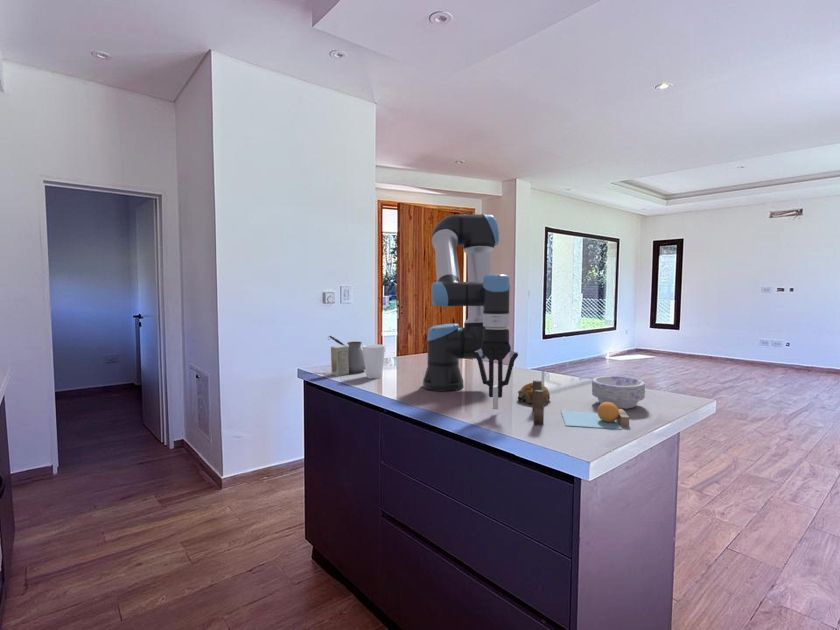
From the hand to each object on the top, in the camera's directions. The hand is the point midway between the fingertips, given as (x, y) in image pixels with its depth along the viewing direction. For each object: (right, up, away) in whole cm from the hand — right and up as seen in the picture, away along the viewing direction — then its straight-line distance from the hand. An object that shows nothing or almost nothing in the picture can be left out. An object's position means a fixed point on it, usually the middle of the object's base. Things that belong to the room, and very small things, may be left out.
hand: (495, 408), depth 131 cm
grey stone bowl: (+40, -1, +10) cm, 41 cm away
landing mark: (+25, -2, -5) cm, 26 cm away
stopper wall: (+34, -2, -7) cm, 35 cm away
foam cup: (-41, +1, +54) cm, 68 cm away
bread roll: (+15, -1, +15) cm, 21 cm away
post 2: (+10, -2, -9) cm, 14 cm away
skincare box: (-56, +2, +60) cm, 82 cm away
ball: (+30, 0, -8) cm, 31 cm away
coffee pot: (-55, +2, +70) cm, 89 cm away
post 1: (+13, -2, +4) cm, 14 cm away
